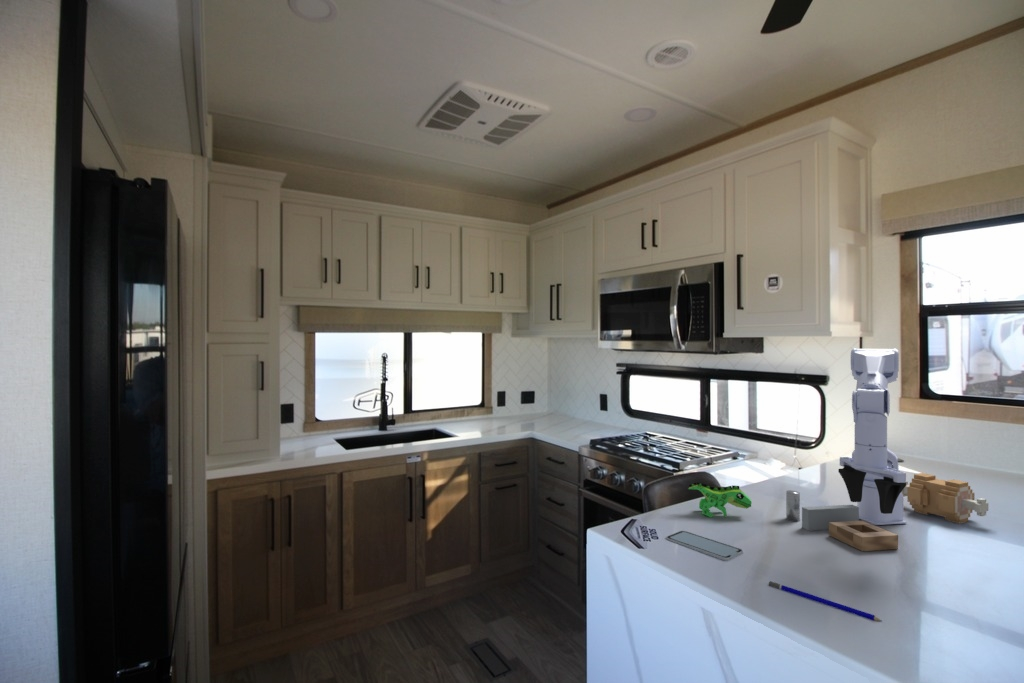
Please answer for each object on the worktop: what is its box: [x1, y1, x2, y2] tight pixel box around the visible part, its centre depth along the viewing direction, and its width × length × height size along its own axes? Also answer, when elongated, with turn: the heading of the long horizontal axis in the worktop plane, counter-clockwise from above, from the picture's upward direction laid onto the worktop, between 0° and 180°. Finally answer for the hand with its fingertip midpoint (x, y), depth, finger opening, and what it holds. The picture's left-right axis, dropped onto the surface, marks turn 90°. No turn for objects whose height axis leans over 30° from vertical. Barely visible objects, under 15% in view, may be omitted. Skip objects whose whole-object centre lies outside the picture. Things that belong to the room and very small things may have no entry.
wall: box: [801, 504, 860, 531], centre depth 119 cm, size 14×2×5 cm, turn 99°
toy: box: [687, 482, 752, 518], centre depth 128 cm, size 6×16×10 cm, turn 78°
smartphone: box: [666, 530, 744, 562], centre depth 108 cm, size 7×1×15 cm
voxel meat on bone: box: [901, 472, 989, 524], centre depth 129 cm, size 10×18×10 cm, turn 24°
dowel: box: [785, 489, 801, 522], centre depth 125 cm, size 3×3×7 cm
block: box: [828, 520, 899, 552], centre depth 111 cm, size 9×9×3 cm
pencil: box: [768, 581, 883, 622], centre depth 84 cm, size 17×1×1 cm, turn 44°
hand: (870, 507), depth 106 cm, fingers open, 7 cm apart
